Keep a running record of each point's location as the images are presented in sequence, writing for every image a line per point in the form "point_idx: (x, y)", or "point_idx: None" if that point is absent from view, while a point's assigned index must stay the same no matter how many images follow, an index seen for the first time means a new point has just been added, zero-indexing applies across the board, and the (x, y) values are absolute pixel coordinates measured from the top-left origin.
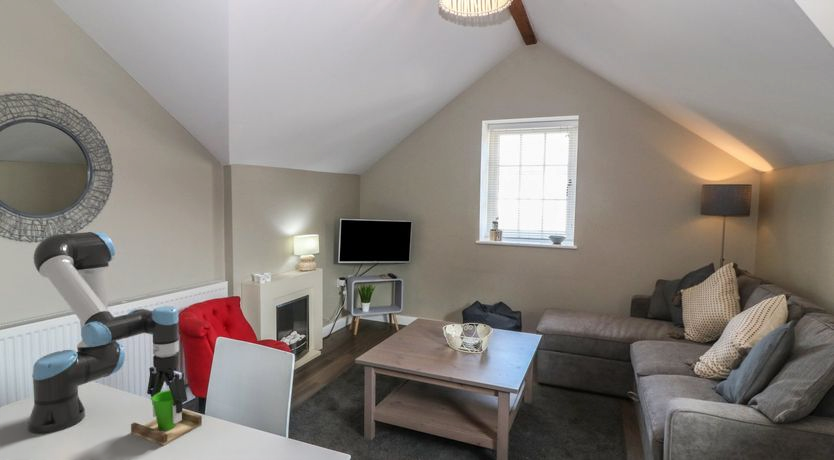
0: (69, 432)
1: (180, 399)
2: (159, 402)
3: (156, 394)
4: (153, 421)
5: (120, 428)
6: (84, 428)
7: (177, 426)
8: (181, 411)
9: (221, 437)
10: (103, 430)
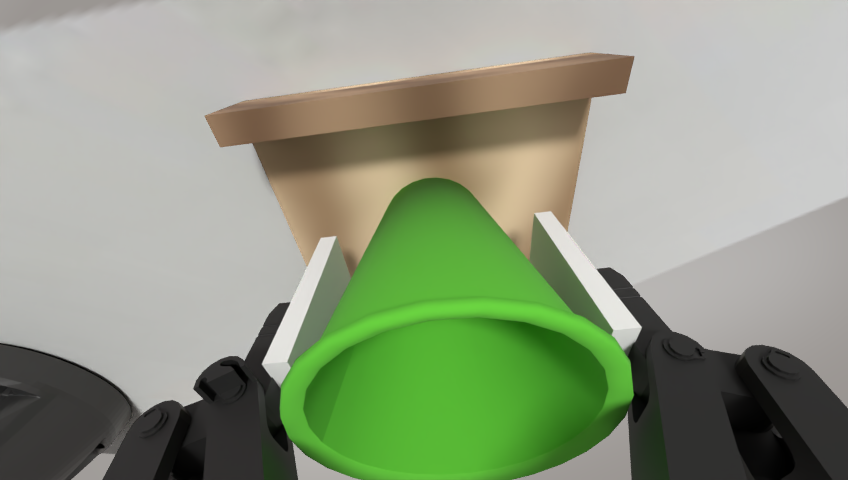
0: (165, 393)
1: (783, 455)
2: (518, 469)
3: (318, 448)
4: (303, 228)
5: (249, 312)
6: (157, 368)
7: (481, 184)
8: (614, 276)
9: (836, 78)
10: (223, 345)
